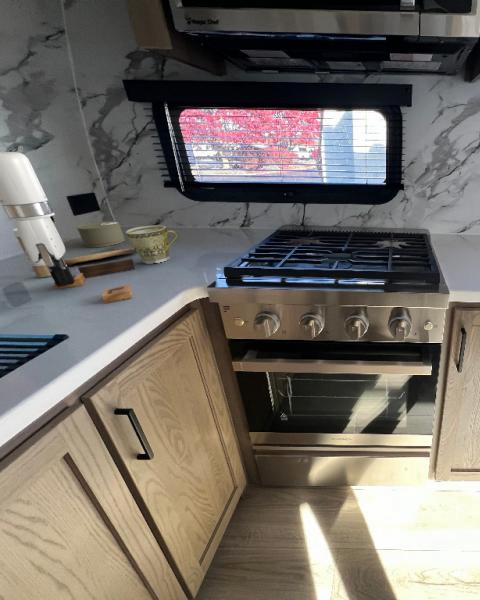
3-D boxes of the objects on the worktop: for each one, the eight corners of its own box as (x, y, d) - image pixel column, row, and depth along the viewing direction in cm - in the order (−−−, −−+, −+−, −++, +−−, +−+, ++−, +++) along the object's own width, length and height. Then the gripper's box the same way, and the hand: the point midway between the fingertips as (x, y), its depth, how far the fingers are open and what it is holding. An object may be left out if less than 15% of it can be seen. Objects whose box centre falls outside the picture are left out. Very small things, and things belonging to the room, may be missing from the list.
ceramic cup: (130, 267, 98) (117, 234, 94) (148, 256, 107) (137, 226, 103) (177, 264, 100) (167, 231, 96) (191, 254, 109) (181, 224, 105)
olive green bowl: (84, 243, 123) (75, 224, 120) (124, 237, 130) (117, 219, 127) (85, 250, 115) (76, 230, 112) (127, 243, 122) (120, 224, 119)
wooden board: (138, 247, 116) (137, 245, 115) (140, 254, 108) (139, 251, 108) (41, 264, 102) (39, 261, 102) (35, 272, 95) (34, 269, 95)
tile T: (56, 289, 84) (53, 282, 83) (60, 283, 88) (57, 276, 87) (82, 284, 87) (79, 278, 86) (85, 279, 90) (82, 272, 89)
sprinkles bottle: (33, 279, 91) (7, 230, 85) (41, 273, 94) (17, 226, 89) (54, 276, 92) (30, 228, 86) (62, 271, 96) (39, 225, 90)
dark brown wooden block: (81, 278, 90) (76, 269, 89) (82, 275, 93) (78, 266, 92) (134, 269, 97) (131, 260, 96) (135, 266, 99) (131, 258, 98)
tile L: (105, 303, 76) (101, 296, 75) (106, 296, 80) (103, 289, 79) (131, 298, 79) (128, 290, 78) (132, 291, 83) (129, 284, 82)
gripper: (15, 208, 79) (52, 278, 87) (-5, 218, 68) (39, 298, 76) (57, 204, 83) (88, 272, 91) (45, 213, 72) (82, 290, 80)
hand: (66, 284), depth 84 cm, fingers closed
